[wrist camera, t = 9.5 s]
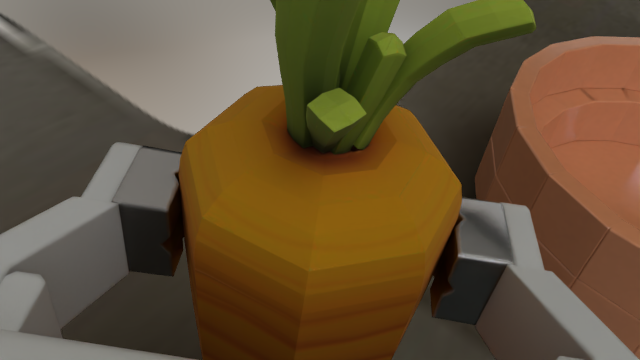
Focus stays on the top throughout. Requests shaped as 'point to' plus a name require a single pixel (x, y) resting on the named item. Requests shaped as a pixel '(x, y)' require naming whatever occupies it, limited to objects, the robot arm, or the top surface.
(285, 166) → the carrot
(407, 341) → the top surface
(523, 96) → the pot
